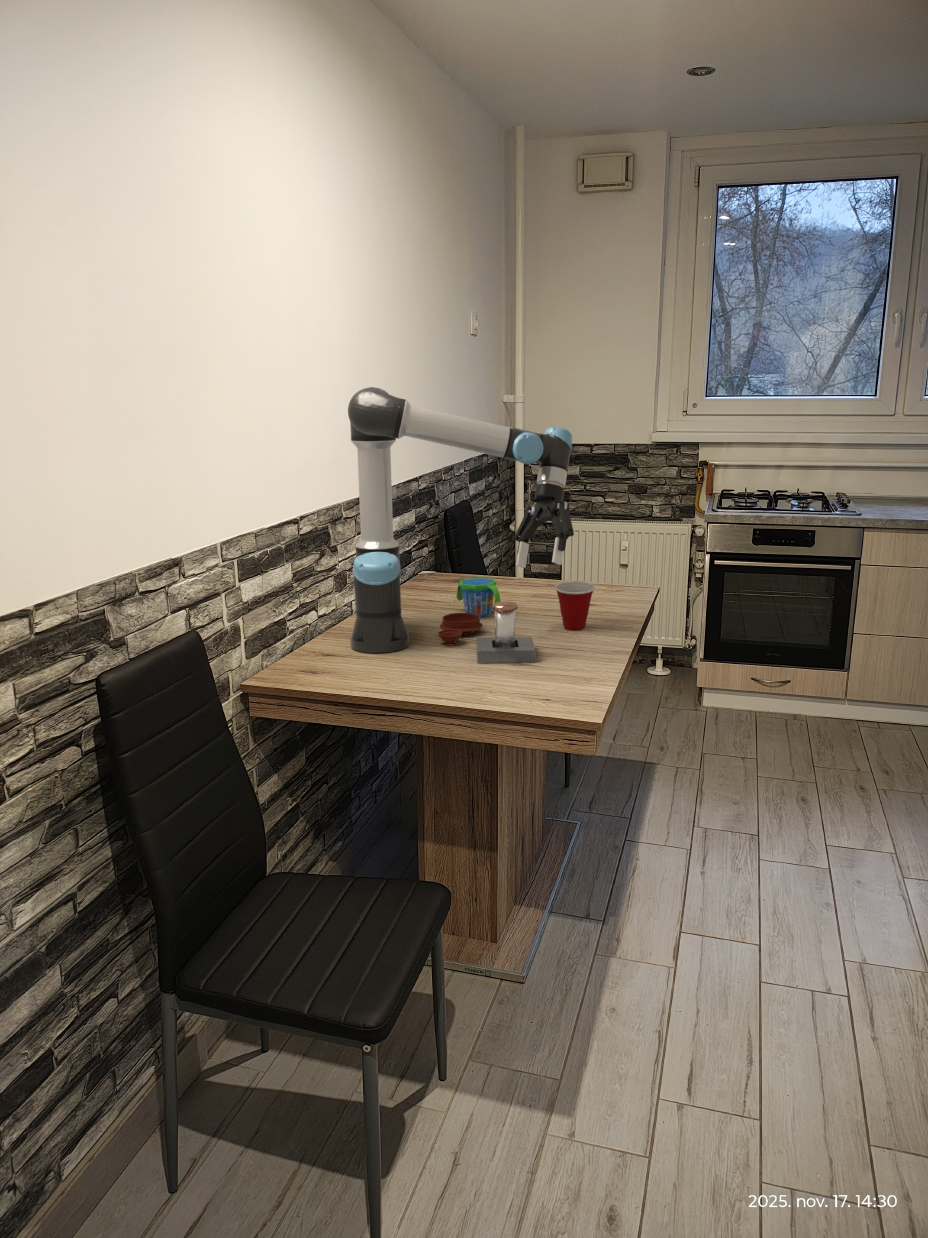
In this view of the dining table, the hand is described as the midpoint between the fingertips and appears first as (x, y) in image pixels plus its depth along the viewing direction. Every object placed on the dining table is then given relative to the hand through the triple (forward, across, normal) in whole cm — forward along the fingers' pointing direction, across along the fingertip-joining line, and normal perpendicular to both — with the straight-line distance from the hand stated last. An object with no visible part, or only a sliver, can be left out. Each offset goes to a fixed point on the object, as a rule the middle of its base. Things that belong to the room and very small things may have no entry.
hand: (538, 565), depth 230 cm
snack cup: (+11, +32, -8) cm, 35 cm away
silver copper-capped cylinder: (+25, -2, +8) cm, 27 cm away
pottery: (+21, +19, +8) cm, 29 cm away
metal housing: (+25, -2, +8) cm, 27 cm away
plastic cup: (+13, +4, -20) cm, 24 cm away
